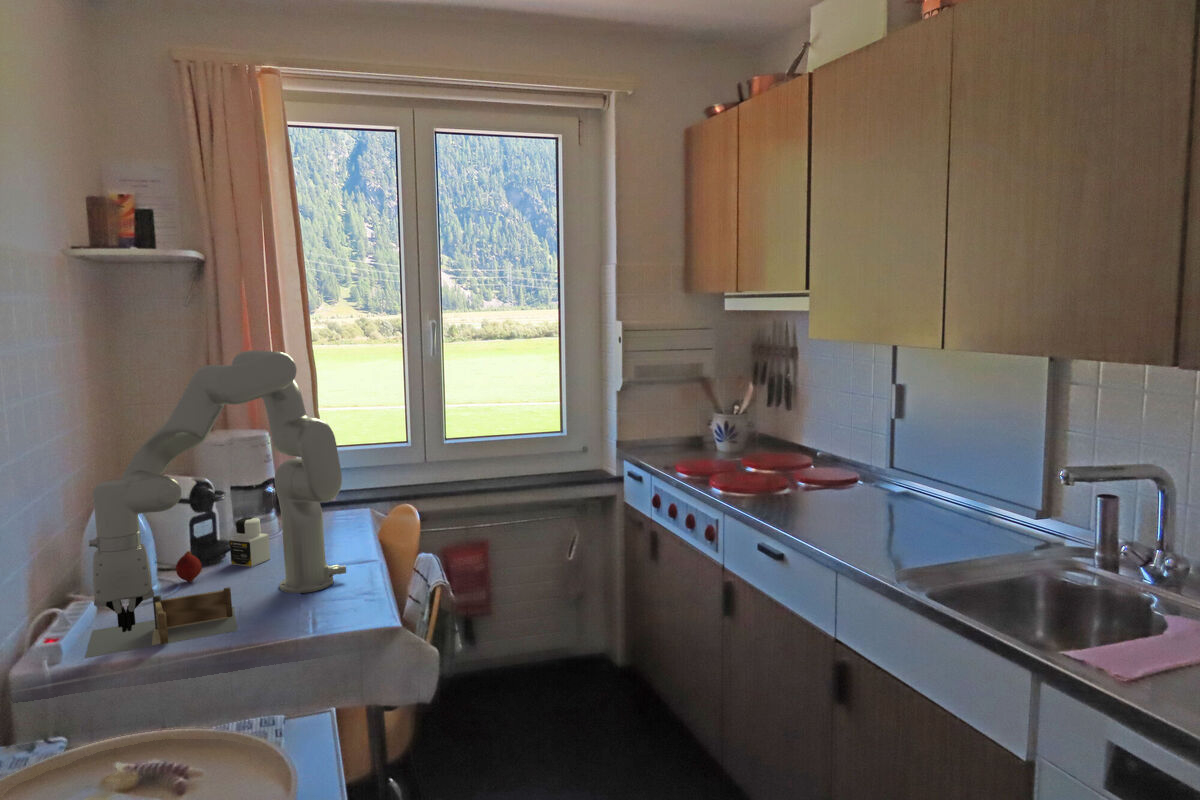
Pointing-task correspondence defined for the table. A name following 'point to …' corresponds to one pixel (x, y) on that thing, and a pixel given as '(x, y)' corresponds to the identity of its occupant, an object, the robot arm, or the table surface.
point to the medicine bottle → (249, 543)
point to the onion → (188, 567)
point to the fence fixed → (195, 607)
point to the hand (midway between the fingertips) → (127, 629)
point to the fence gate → (161, 623)
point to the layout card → (153, 635)
